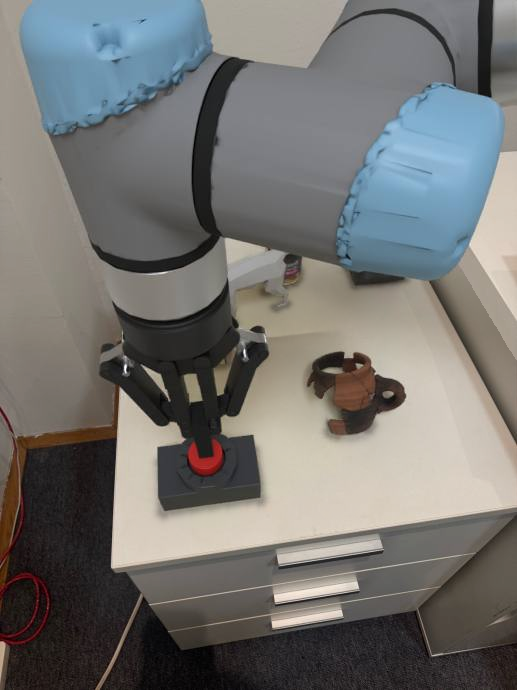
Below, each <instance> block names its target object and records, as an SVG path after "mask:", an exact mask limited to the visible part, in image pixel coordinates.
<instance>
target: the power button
mask: <svg viewBox="0 0 517 690" xmlns="http://www.w3.org/2000/svg"><path fill="white" fill-rule="evenodd" d="M212 440H213V451H214V457H207V458H200V459H199V456H198V452H197V448H196V444H195V442H194V443H193V444H192V445H191V446H190V448H189V451H188V458H189V462H190V465H191V467H192V469H193V470H194V471H195V472H196V473H198V474H200V475H210V474H213V473H215V472H216V471H218V470H219V469H220V467H221V465H222V463H223V453H222V448H221V446H220V444H219V443H218V442H217V441H216V440H214V439H212Z"/></svg>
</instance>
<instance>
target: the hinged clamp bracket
mask: <svg viewBox="0 0 517 690" xmlns="http://www.w3.org/2000/svg"><path fill="white" fill-rule="evenodd" d="M349 273H350V275H351V279H352V281H353V283H354V285H355V286H363V285H372V284H379V283H388V282H396V281H403V280H404V281H405V278H406V277H400V276H394V275H388V274H382V273H376V272H370V271H361V272H355V271H351V270H349Z"/></svg>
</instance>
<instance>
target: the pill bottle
mask: <svg viewBox="0 0 517 690" xmlns="http://www.w3.org/2000/svg"><path fill="white" fill-rule="evenodd" d="M273 250H274V249H270V248H266V247H265V252H266V251H273ZM283 262H284V263H285V264H286V268H285V274H284V280H283V286H289V285H292V284H294V283H296V282H297V281H299V279H300V277H301V274H302V266H303V257H302V256H298V255H294V254H290V253H288V254H287V255H285V257H284V259H283Z"/></svg>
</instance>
